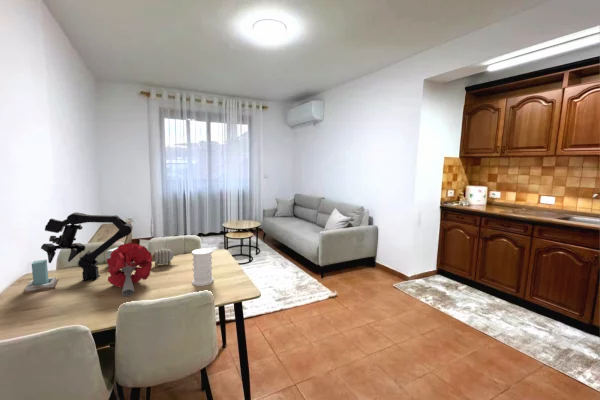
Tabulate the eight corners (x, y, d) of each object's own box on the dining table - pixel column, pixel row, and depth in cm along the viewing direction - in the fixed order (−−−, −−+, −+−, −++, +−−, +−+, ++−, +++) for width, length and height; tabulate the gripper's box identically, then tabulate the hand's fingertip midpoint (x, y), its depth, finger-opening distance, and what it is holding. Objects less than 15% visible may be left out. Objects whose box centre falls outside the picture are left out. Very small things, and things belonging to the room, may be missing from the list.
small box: (114, 267, 177) (113, 251, 176) (107, 266, 178) (106, 250, 177) (124, 263, 185) (123, 247, 184) (117, 262, 186) (116, 247, 185)
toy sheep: (148, 265, 182) (147, 248, 181) (175, 260, 192) (175, 244, 191) (151, 270, 174) (150, 252, 172) (179, 264, 184) (179, 248, 182)
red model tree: (155, 300, 149) (153, 259, 170) (150, 271, 135) (148, 230, 156) (107, 311, 140) (111, 266, 160) (96, 282, 126) (102, 236, 147)
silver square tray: (58, 280, 156) (58, 276, 155) (54, 288, 146) (54, 283, 146) (29, 285, 149) (28, 280, 149) (23, 293, 139) (22, 288, 139)
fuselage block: (48, 282, 151) (46, 259, 149) (46, 286, 147) (44, 262, 145) (36, 284, 148) (34, 261, 147) (33, 288, 144) (31, 264, 142)
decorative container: (218, 280, 160) (217, 249, 158) (203, 287, 150) (202, 255, 148) (202, 276, 165) (202, 247, 163) (187, 283, 155) (186, 252, 153)
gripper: (78, 230, 164) (69, 255, 164) (40, 229, 147) (30, 258, 146) (90, 237, 160) (81, 262, 160) (52, 236, 143) (42, 265, 142)
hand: (59, 262), depth 152 cm, fingers open, 9 cm apart
